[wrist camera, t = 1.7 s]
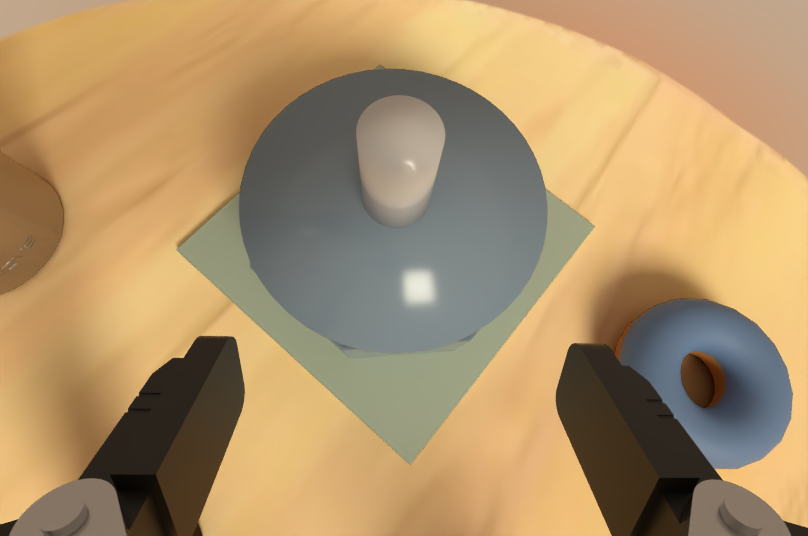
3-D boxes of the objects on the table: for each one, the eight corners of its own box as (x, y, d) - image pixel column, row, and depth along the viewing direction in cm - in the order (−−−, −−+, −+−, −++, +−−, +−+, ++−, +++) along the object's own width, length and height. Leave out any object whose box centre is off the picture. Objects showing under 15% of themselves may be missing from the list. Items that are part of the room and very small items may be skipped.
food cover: (216, 247, 28) (100, 144, 16) (381, 92, 32) (382, -78, 20) (406, 419, 26) (428, 440, 14) (559, 228, 30) (674, 122, 18)
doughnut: (703, 280, 29) (756, 267, 25) (782, 421, 28) (855, 435, 23) (572, 336, 29) (602, 333, 24) (645, 484, 27) (691, 511, 22)
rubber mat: (179, 251, 28) (176, 249, 28) (379, 68, 33) (379, 64, 33) (409, 464, 25) (410, 465, 25) (592, 228, 30) (594, 226, 30)
